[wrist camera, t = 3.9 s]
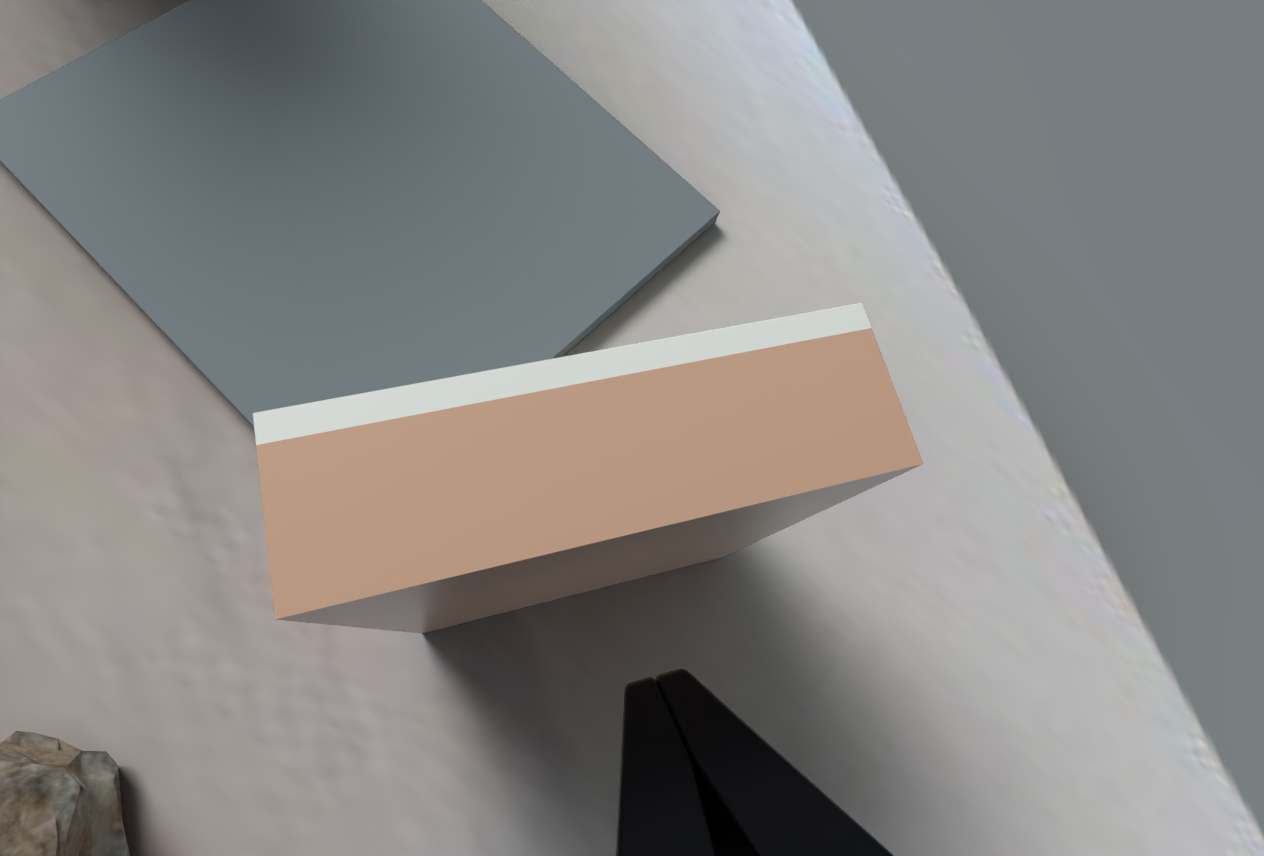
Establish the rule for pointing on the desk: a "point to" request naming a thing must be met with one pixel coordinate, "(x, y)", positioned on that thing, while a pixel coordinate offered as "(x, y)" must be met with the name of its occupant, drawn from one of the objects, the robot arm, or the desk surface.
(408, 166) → the grey rubber mat
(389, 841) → the desk surface
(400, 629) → the terracotta tile
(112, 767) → the flat rock
